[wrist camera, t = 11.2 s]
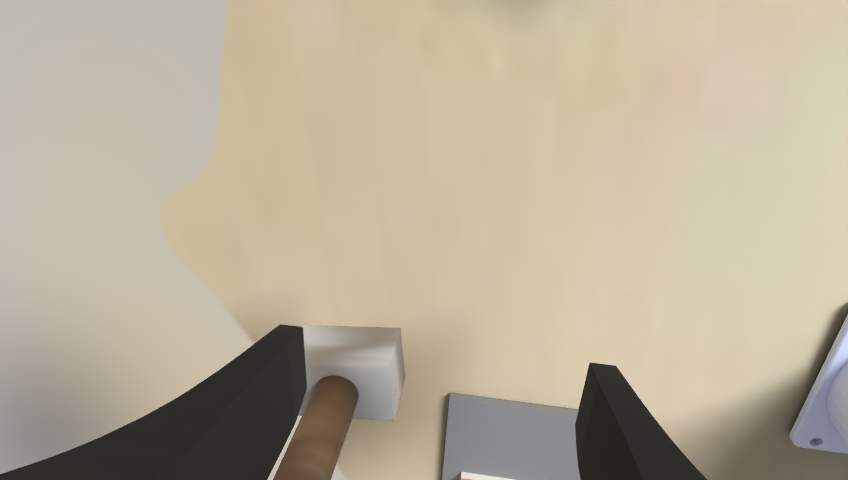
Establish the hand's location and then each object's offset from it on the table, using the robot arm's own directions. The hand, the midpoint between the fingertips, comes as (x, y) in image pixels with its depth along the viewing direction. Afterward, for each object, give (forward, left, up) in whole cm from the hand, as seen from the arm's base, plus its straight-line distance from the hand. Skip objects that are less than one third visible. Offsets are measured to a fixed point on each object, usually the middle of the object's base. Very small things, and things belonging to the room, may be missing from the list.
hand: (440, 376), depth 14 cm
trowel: (+5, +8, -10) cm, 14 cm away
